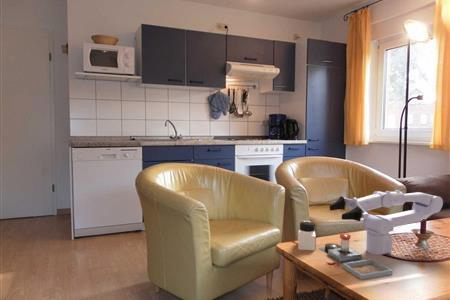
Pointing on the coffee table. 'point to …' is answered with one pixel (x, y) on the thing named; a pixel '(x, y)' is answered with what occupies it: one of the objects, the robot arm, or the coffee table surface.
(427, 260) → the coffee table surface
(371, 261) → the tray
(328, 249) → the block
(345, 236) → the pin
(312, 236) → the medicine bottle
